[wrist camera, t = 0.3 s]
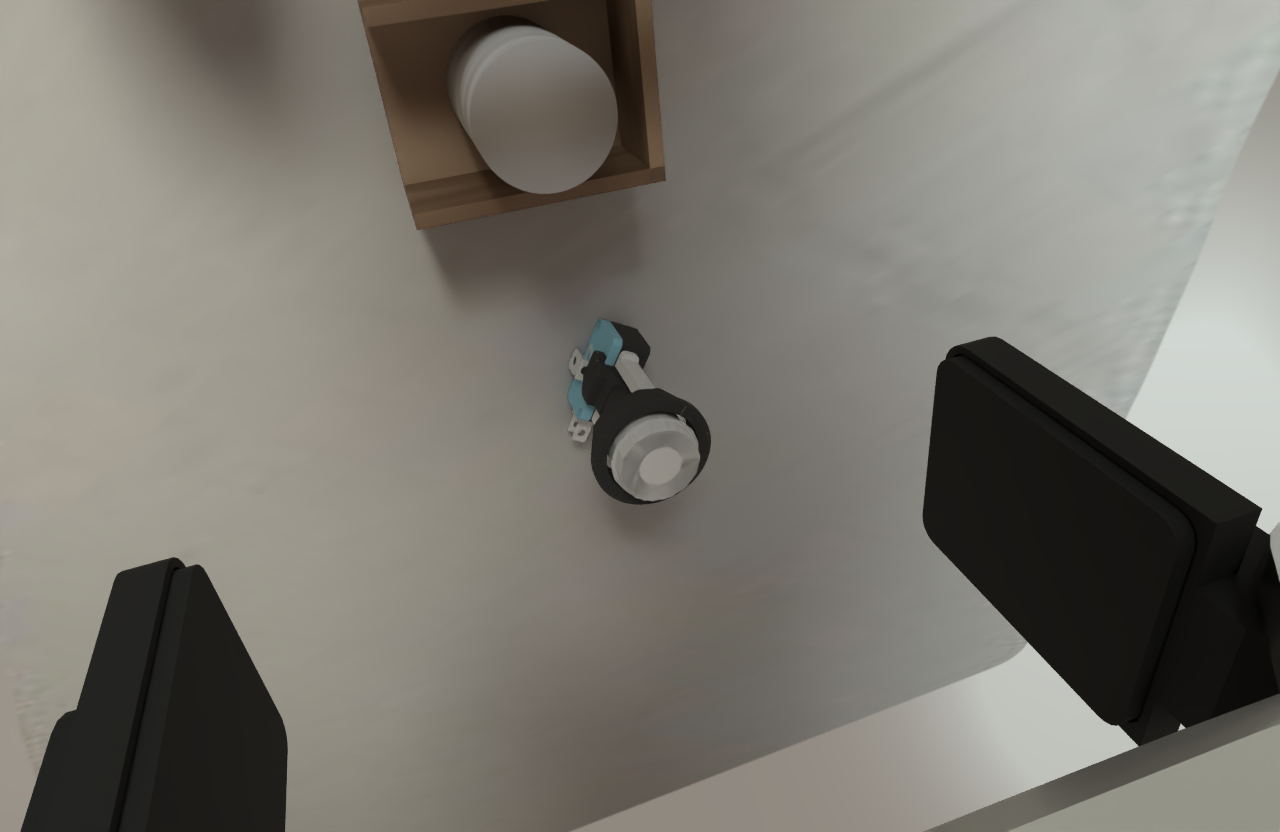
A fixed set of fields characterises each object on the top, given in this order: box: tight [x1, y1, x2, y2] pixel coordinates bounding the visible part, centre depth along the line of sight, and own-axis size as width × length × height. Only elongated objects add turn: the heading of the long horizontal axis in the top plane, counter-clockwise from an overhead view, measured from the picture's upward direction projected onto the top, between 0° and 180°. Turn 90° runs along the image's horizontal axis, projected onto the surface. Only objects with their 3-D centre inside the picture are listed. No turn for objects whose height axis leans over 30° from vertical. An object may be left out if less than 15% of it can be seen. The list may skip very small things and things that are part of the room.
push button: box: [567, 319, 711, 505], centre depth 40 cm, size 7×5×10 cm
